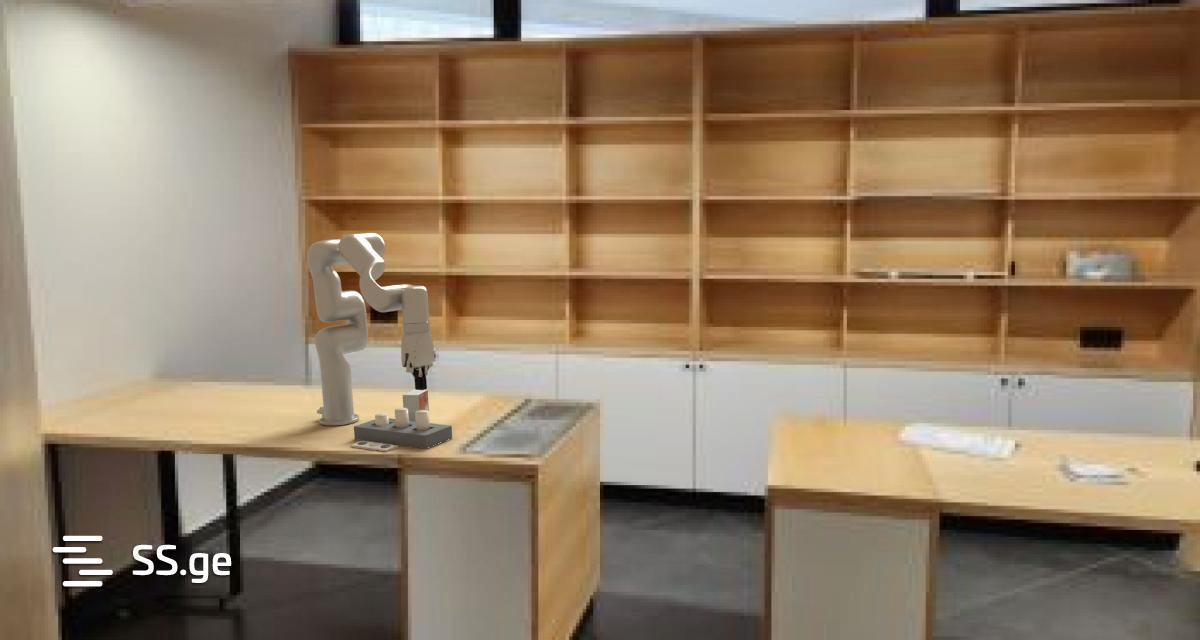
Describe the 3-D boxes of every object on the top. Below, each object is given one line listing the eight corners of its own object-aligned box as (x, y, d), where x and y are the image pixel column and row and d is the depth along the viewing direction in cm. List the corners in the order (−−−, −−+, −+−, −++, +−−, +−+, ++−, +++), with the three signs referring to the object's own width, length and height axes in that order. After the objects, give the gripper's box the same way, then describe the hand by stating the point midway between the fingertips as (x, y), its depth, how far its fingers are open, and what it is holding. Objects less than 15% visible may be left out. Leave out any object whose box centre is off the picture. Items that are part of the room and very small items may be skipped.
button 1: (373, 437, 284) (372, 415, 283) (382, 433, 287) (381, 412, 287) (383, 438, 282) (382, 416, 281) (392, 435, 286) (391, 413, 285)
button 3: (413, 434, 276) (412, 412, 275) (422, 431, 279) (421, 409, 278) (424, 435, 274) (422, 413, 273) (432, 432, 277) (431, 410, 276)
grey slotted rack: (354, 439, 283) (353, 426, 282) (381, 429, 293) (380, 417, 292) (426, 448, 269) (425, 435, 268) (452, 438, 279) (451, 425, 279)
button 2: (393, 431, 280) (391, 410, 279) (402, 428, 283) (400, 407, 282) (403, 433, 278) (401, 411, 277) (412, 429, 281) (410, 408, 280)
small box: (420, 427, 294) (418, 395, 293) (404, 427, 295) (401, 394, 294) (430, 421, 302) (428, 389, 300) (414, 420, 303) (412, 389, 302)
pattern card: (350, 446, 274) (350, 444, 274) (362, 442, 278) (362, 439, 278) (386, 451, 267) (386, 449, 267) (398, 447, 272) (397, 444, 271)
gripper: (423, 324, 280) (427, 383, 283) (389, 331, 268) (394, 393, 270) (443, 324, 277) (447, 385, 279) (409, 332, 264) (414, 395, 266)
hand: (421, 389), depth 275 cm, fingers closed
